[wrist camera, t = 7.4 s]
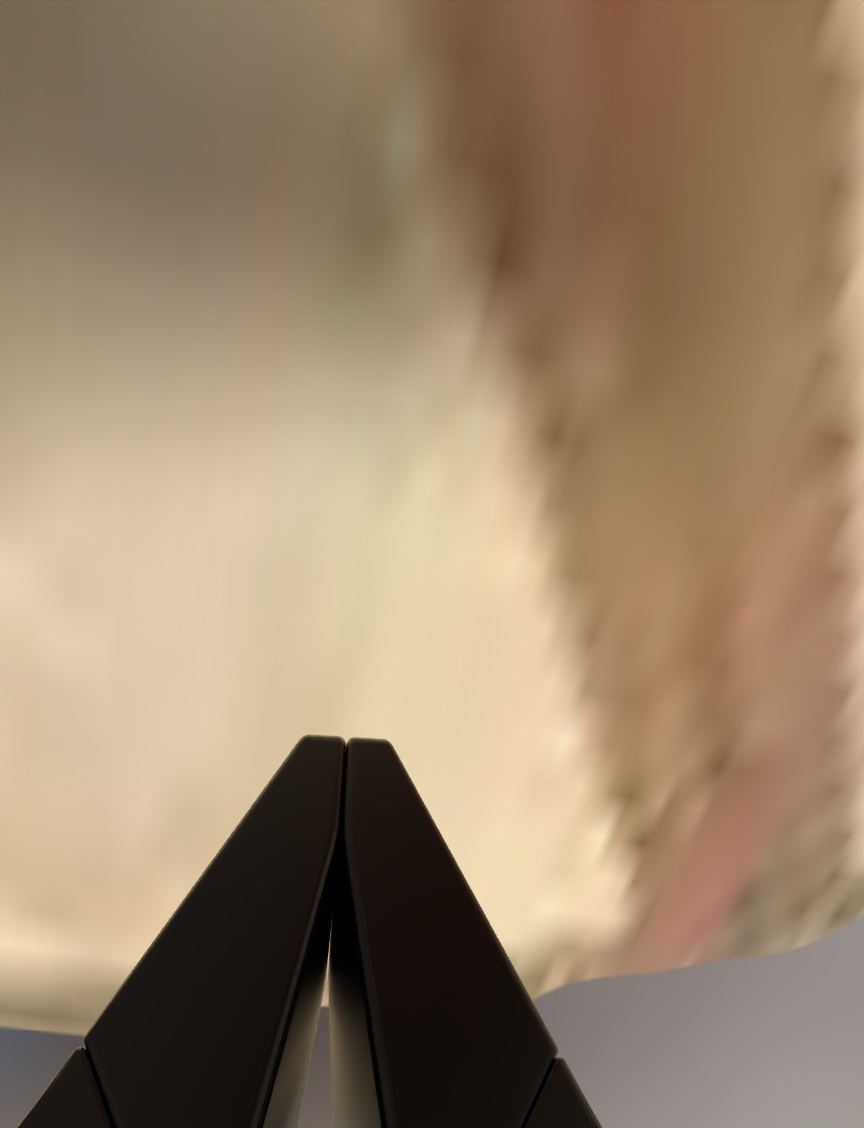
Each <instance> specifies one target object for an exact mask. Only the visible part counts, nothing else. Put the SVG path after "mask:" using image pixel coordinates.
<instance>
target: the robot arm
mask: <svg viewBox="0 0 864 1128" xmlns="http://www.w3.org/2000/svg"><path fill="white" fill-rule="evenodd" d="M345 751H346V752H345ZM331 922H332V923H331ZM330 932H331V936H330ZM329 943H330V951H329ZM328 953H329V972H328V981H329V1018H330V1043H331V1068H332V1089H333V1090H332V1091H333V1114H334V1115H333V1116H334V1128H602V1126H601V1124H600V1123H599V1121H598V1119H597V1117H596V1116H595V1114H594V1112H593V1111H592V1109H591V1107H590V1105H589V1103H588V1102H587V1100H586V1098H585V1096H584V1094H583V1093H582V1091H581V1089H580V1087H579V1085H578V1083H577V1082H576V1080H575V1078H574V1076H573V1074H572V1072H571V1070H570V1069H569V1067H568V1065H567V1063H566V1061H565V1060H564V1059H563V1058H560V1057H559V1058H556V1057H557V1054H558V1048H557V1046H556V1044H555V1042H554V1040H553V1039H552V1037H551V1035H550V1033H549V1031H548V1029H547V1028H546V1026H545V1024H544V1022H543V1020H542V1018H541V1016H540V1015H539V1013H538V1011H537V1009H536V1007H535V1005H534V1004H533V1002H532V1000H531V998H530V996H529V994H528V993H527V991H526V989H525V987H524V985H523V983H522V982H521V980H520V978H519V976H518V974H517V972H516V971H515V969H514V967H513V965H512V963H511V961H510V960H509V958H508V956H507V954H506V952H505V950H504V949H503V947H502V945H501V943H500V941H499V939H498V938H497V936H496V934H495V932H494V930H493V928H492V927H491V925H490V923H489V921H488V919H487V917H486V916H485V914H484V912H483V910H482V908H481V907H480V905H479V903H478V901H477V899H476V897H475V896H474V894H473V892H472V890H471V888H470V886H469V885H468V883H467V881H466V879H465V877H464V875H463V874H462V872H461V870H460V868H459V866H458V864H457V863H456V861H455V859H454V857H453V855H452V853H451V852H450V850H449V848H448V846H447V844H446V842H445V841H444V839H443V837H442V835H441V833H440V831H439V830H438V828H437V826H436V824H435V822H434V820H433V819H432V817H431V815H430V813H429V811H428V809H427V808H426V806H425V804H424V802H423V800H422V798H421V797H420V795H419V793H418V791H417V789H416V787H415V786H414V784H413V782H412V780H411V778H410V777H409V775H408V773H407V771H406V769H405V767H404V766H403V764H402V762H401V760H400V758H399V756H398V755H397V753H396V751H395V749H394V747H393V746H392V744H391V743H390V742H389V741H387V740H385V739H372V738H356V737H354V738H351V739H349V740H348V742H347V744H346V742H345V740H344V739H343V738H342V737H339V736H324V735H306V736H303V737H302V738H301V739H300V740H299V741H298V743H297V744H296V745H295V747H294V748H293V750H292V751H291V752H290V754H289V755H288V757H287V758H286V759H285V761H284V762H283V763H282V765H281V766H280V768H279V769H278V770H277V772H276V773H275V774H274V776H273V777H272V779H271V780H270V781H269V783H268V784H267V785H266V787H265V788H264V790H263V791H262V792H261V794H260V795H259V796H258V798H257V799H256V801H255V802H254V803H253V805H252V806H251V808H250V809H249V810H248V812H247V813H246V814H245V816H244V817H243V819H242V820H241V821H240V823H239V824H238V825H237V827H236V828H235V830H234V831H233V832H232V834H231V835H230V836H229V838H228V839H227V841H226V842H225V843H224V845H223V846H222V847H221V849H220V850H219V852H218V853H217V854H216V856H215V857H214V859H213V860H212V861H211V863H210V864H209V865H208V867H207V868H206V870H205V871H204V872H203V874H202V875H201V876H200V878H199V879H198V881H197V882H196V883H195V885H194V886H193V887H192V889H191V890H190V892H189V893H188V894H187V896H186V897H185V898H184V900H183V901H182V903H181V904H180V905H179V907H178V908H177V910H176V911H175V912H174V914H173V915H172V916H171V918H170V919H169V921H168V922H167V923H166V925H165V926H164V927H163V929H162V930H161V932H160V933H159V934H158V936H157V937H156V938H155V940H154V941H153V943H152V944H151V945H150V947H149V948H148V949H147V951H146V952H145V954H144V955H143V956H142V958H141V959H140V961H139V962H138V963H137V965H136V966H135V967H134V969H133V970H132V972H131V973H130V974H129V976H128V977H127V978H126V980H125V981H124V983H123V984H122V985H121V987H120V988H119V989H118V991H117V992H116V994H115V995H114V996H113V998H112V999H111V1001H110V1002H109V1003H108V1005H107V1006H106V1007H105V1009H104V1010H103V1012H102V1013H101V1014H100V1016H99V1017H98V1018H97V1020H96V1021H95V1023H94V1024H93V1025H92V1027H91V1028H90V1029H89V1031H88V1032H87V1034H86V1035H85V1036H84V1038H83V1046H84V1048H81V1047H79V1048H76V1049H75V1050H74V1051H73V1052H72V1053H71V1055H70V1056H69V1058H68V1059H67V1060H66V1062H65V1063H64V1064H63V1066H62V1067H61V1069H60V1070H59V1071H58V1073H57V1074H56V1076H55V1077H54V1078H53V1080H52V1081H51V1082H50V1084H49V1085H48V1087H47V1088H46V1089H45V1091H44V1092H43V1093H42V1095H41V1097H40V1098H39V1099H38V1100H37V1102H36V1103H35V1104H34V1106H33V1107H32V1108H31V1110H30V1111H29V1112H28V1113H27V1115H26V1116H25V1117H24V1119H23V1120H22V1121H21V1123H20V1124H19V1125H18V1126H17V1128H297V1125H298V1120H299V1115H300V1110H301V1105H302V1099H303V1095H304V1090H305V1084H306V1079H307V1074H308V1069H309V1064H310V1059H311V1054H312V1049H313V1043H314V1038H315V1033H316V1028H317V1023H318V1018H319V1013H320V1007H321V1002H322V997H323V990H324V984H325V978H326V972H327V962H328Z"/></svg>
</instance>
